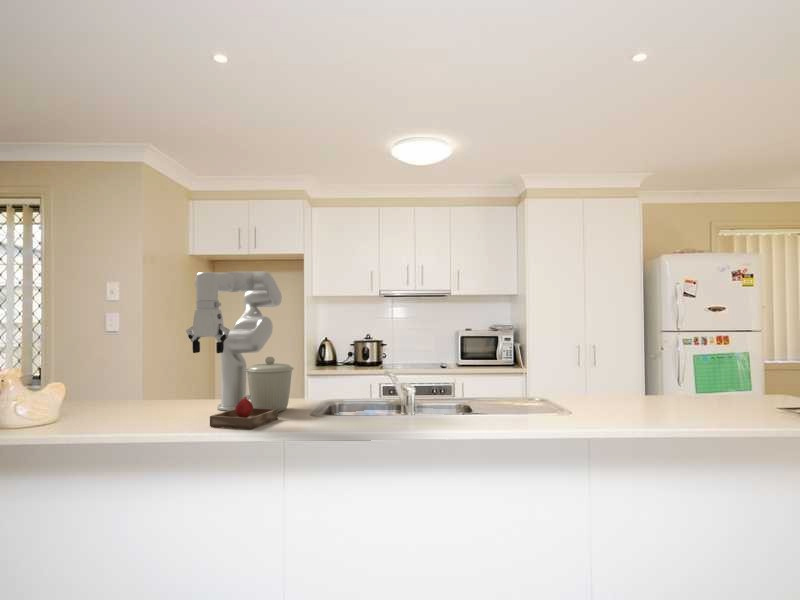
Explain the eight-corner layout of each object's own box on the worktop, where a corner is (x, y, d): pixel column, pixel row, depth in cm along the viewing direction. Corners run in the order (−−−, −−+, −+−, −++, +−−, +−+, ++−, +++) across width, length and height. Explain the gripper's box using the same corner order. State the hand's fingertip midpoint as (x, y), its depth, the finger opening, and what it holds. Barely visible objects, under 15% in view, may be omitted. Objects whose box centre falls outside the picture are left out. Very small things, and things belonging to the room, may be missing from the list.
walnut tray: (239, 416, 169) (239, 407, 169) (277, 419, 164) (277, 409, 164) (209, 426, 153) (209, 416, 153) (250, 429, 149) (251, 418, 149)
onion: (238, 422, 155) (238, 398, 155) (233, 419, 159) (233, 396, 160) (255, 420, 158) (255, 396, 158) (249, 417, 163) (249, 394, 163)
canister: (242, 409, 183) (243, 356, 184) (288, 405, 191) (288, 354, 191) (248, 417, 167) (248, 359, 167) (298, 413, 174) (298, 357, 175)
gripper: (234, 305, 169) (235, 351, 169) (193, 306, 173) (194, 351, 173) (222, 305, 162) (223, 354, 162) (179, 306, 166) (180, 353, 165)
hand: (208, 352), depth 167 cm, fingers open, 9 cm apart
